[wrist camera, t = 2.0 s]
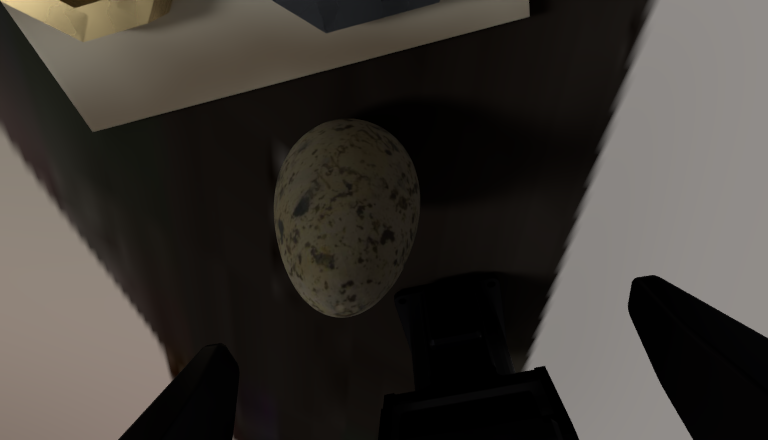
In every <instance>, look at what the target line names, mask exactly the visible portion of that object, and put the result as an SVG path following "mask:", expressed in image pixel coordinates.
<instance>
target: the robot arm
mask: <svg viewBox="0 0 768 440" xmlns="http://www.w3.org/2000/svg"><path fill="white" fill-rule="evenodd" d="M489 282H491V283H489ZM394 300H395V305H396V308H397V311H398V314H399V317H400V320H401V323H402V326H403V329H404V332H405V335H406V338H407V341H408V344H409V347H410V350H411V353H412V361H413V372H414V383H415V391H413V392H408V393H402V394H397V395H395V394H394V393H393V394H387V395H385V396H384V405H383V409H381V417H380V427H379V437H378V440H579V438H578V436H577V433H576V431H575V429H574V427H573V424H572V422H571V420H570V418H569V416H568V414H567V411H566V409H565V407H564V405H563V403H562V401H561V399H560V397H559V395H558V393H557V390H556V389H555V386H554V384H553V382H552V380H551V378H550V376H549V374H548V372H547V370H546V368H545V366H542V367H536V368H534V370H531V371H524V372H519V373H515V369H514V366H513V363H512V360H511V357H510V354H509V350H508V347H507V344H506V332H505V323H504V315H503V307H502V299H501V290H500V283H499V280H498V277H497V276H496V275H494V274H487V275H482V276H477V277H471V278H466V279H461V280H456V281H451V282H445V283H440V284H435V285H430V286H425V287H420V288H414V289H409V290H404V291H400V292H397V293H396V294H395V296H394ZM628 310H629V314H630V317H631V319H632V321H633V324H634V326H635V328H636V330H637V333H638V335H639V337H640V339H641V342H642V344H643V346H644V348H645V350H646V353H647V355H648V357H649V359H650V362H651V364H652V366H653V368H654V371H655V373H656V375H657V377H658V379H659V381H660V383H661V385H662V387H663V389H664V390H665V392H666V394H667V396H668V398H669V399H670V401H671V403H672V404H673V406H674V408H675V409H676V411H677V413H678V415H679V416H680V418H681V420H682V421H683V423H684V424H685V426H686V428H687V430H688V432H689V433H690V435H691V437H692V438H693V440H768V338H767V337H765V336H763V335H761V334H760V333H758V332H756V331H754V330H752V329H751V328H749V327H747V326H745V325H744V324H742V323H740V322H738V321H736V320H735V319H733V318H731V317H729V316H728V315H726V314H724V313H722V312H720V311H719V310H717V309H715V308H713V307H712V306H710V305H708V304H706V303H705V302H703V301H701V300H699V299H697V298H696V297H694V296H692V295H690V294H689V293H686V292H685V291H683V290H681V289H680V288H678V287H676V286H674V285H673V284H671V283H669V282H667V281H665V280H664V279H662V278H660V277H658V276H655V275H650V276H644V277H637V278H635V279H634V280H633V281H632V285H631V291H630V296H629V302H628ZM238 383H239V367H238V364H237V362H236V361H235V359H234V358H233V356H232V355H231V353H230V352H229V350H228V348H227V347H226V346H225V345H224V344H222V343H219V344H213V345H207V346H205V347H203V348H202V349H201V350H200V351H199V352H198V354H197V355H196V356H195V357H194V358H193V359H192V360H191V361H190V362H189V363H188V364H187V366H186V367H185V368H184V369H183V370H182V371H181V372H180V373H179V374H178V375H177V376H176V377H175V379H174V380H173V381H172V382H171V383H170V384H169V385H168V386H167V387H166V388H165V389H164V390H163V392H162V393H161V394H160V395H159V396H158V397H157V398H156V399H155V400H154V401H153V402H152V404H151V405H150V406H149V407H148V408H147V409H146V410H145V411H144V412H143V413H142V414H141V415H140V417H139V418H138V419H137V420H136V421H135V422H134V423H133V424H132V425H131V426H130V427H129V429H128V430H127V431H126V432H125V433H124V434H123V435H122V436H121V437H120V438H119V439H118V440H232V438H233V430H234V421H235V412H236V402H237V393H238Z"/></svg>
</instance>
